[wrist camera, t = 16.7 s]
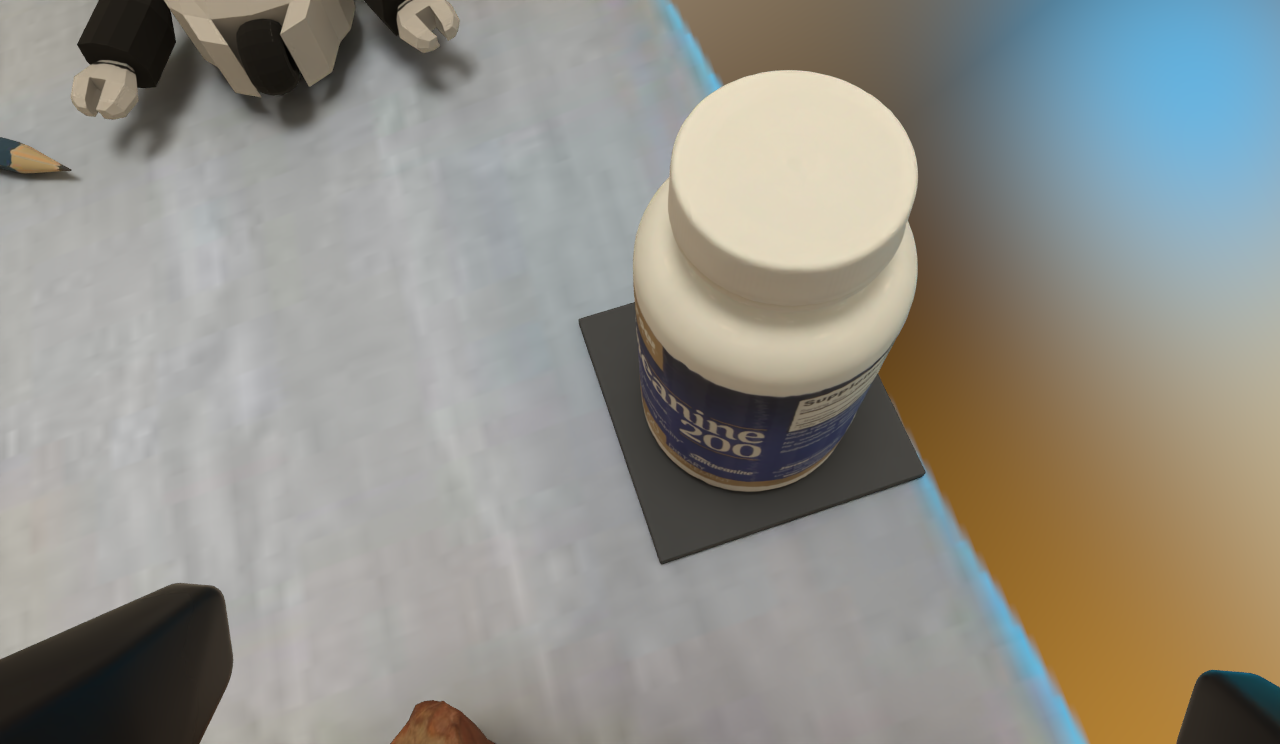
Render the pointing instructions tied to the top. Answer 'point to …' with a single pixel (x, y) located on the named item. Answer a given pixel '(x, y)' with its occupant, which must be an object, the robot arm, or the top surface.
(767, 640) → the top surface
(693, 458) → the pill bottle
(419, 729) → the fossil
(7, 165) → the pencil
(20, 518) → the top surface
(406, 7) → the robot toy
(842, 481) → the mat
